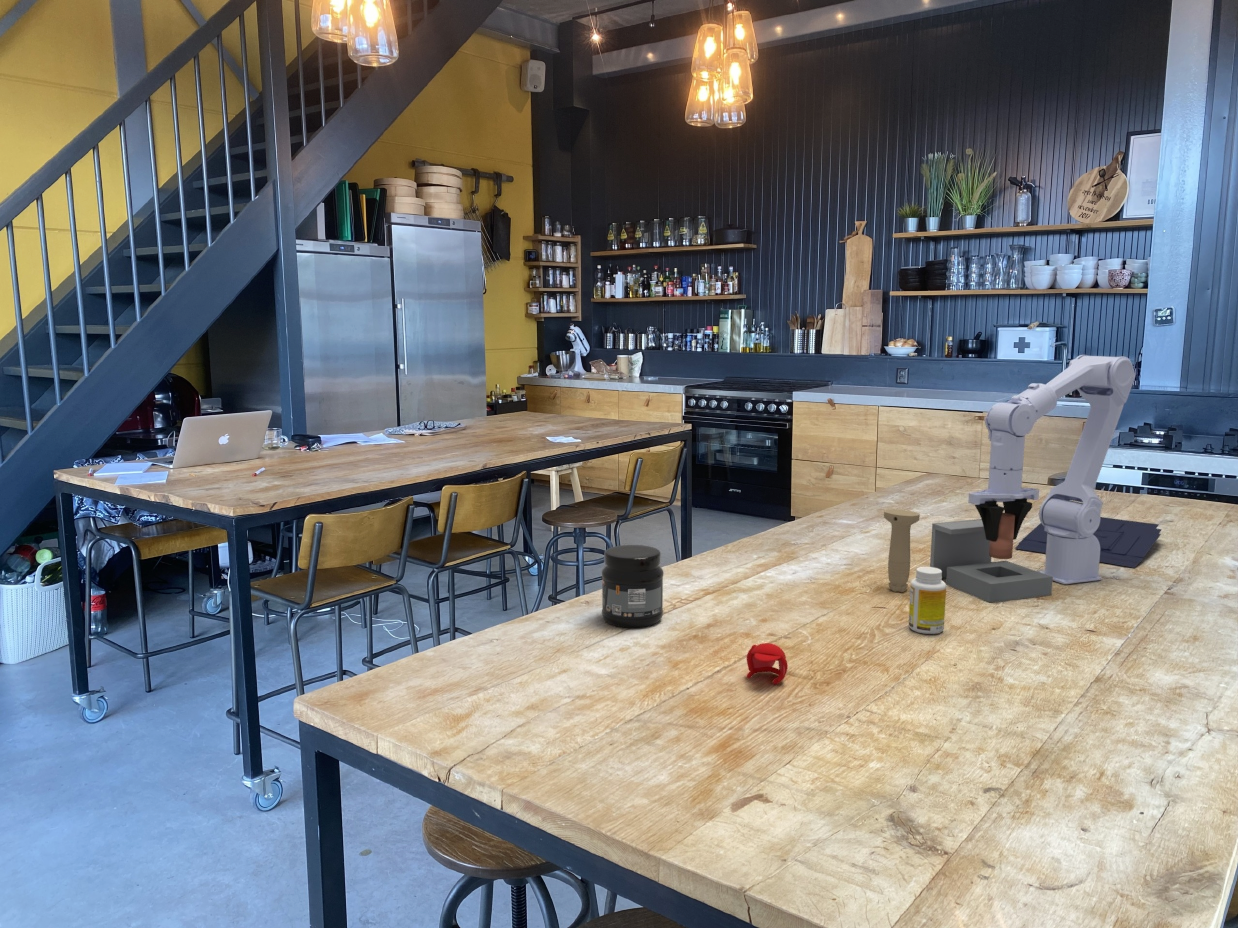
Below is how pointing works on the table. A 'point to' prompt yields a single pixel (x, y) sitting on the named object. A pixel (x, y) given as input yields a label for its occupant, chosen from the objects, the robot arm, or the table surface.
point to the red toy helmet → (767, 660)
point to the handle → (899, 547)
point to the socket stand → (981, 565)
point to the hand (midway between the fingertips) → (1001, 539)
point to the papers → (1108, 540)
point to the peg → (1003, 538)
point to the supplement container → (632, 586)
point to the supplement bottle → (927, 601)
